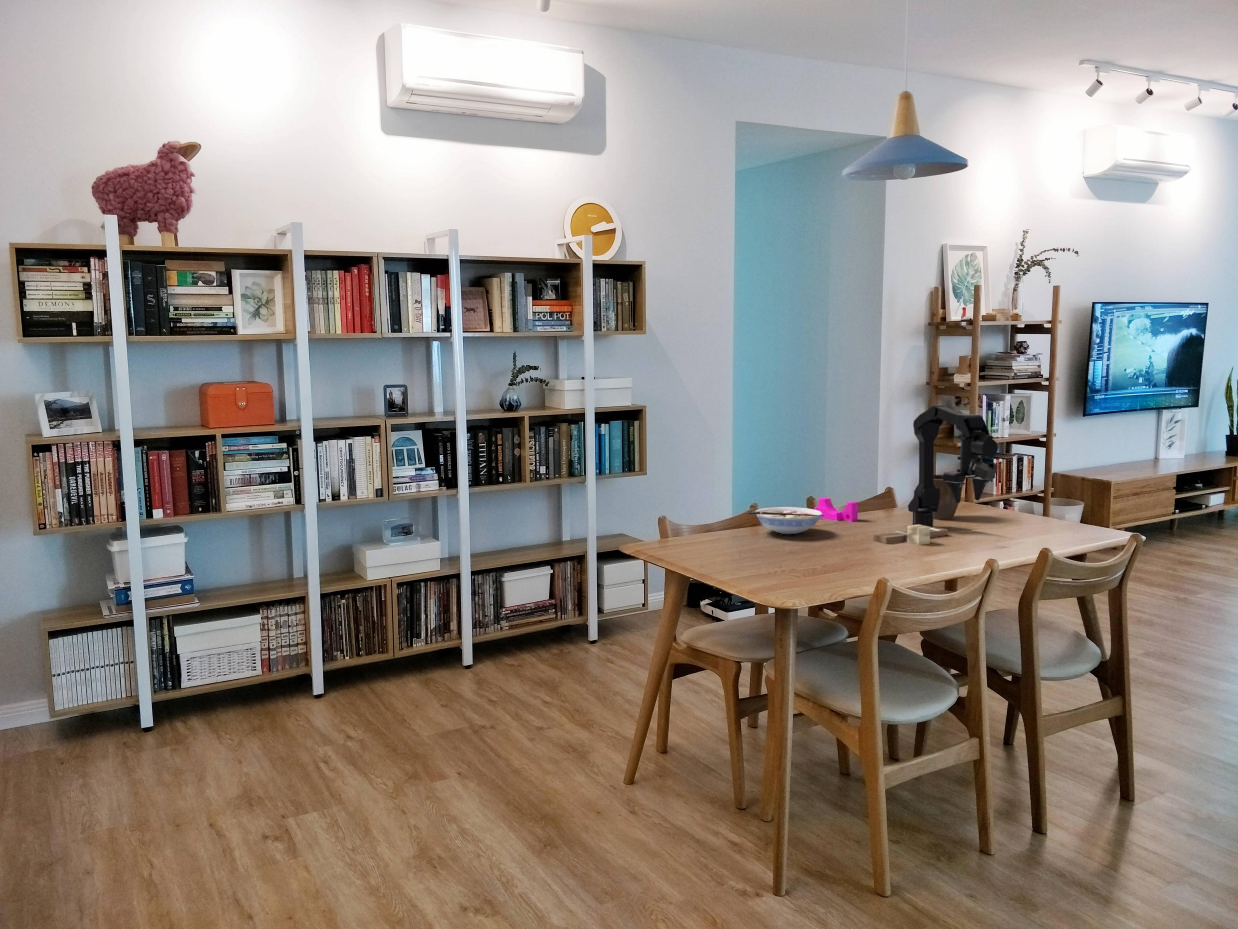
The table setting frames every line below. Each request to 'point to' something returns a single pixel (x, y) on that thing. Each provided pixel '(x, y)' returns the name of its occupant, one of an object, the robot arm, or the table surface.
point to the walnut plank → (899, 535)
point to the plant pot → (944, 500)
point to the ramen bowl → (788, 519)
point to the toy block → (833, 514)
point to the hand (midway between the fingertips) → (967, 501)
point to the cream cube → (917, 535)
